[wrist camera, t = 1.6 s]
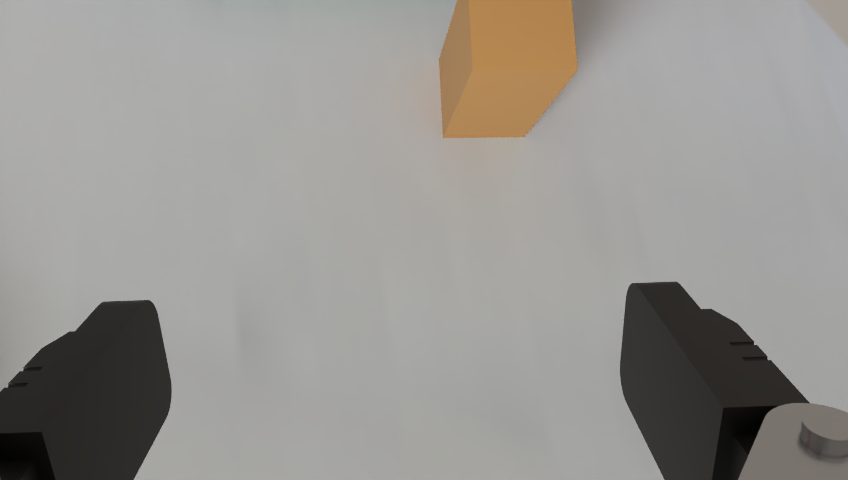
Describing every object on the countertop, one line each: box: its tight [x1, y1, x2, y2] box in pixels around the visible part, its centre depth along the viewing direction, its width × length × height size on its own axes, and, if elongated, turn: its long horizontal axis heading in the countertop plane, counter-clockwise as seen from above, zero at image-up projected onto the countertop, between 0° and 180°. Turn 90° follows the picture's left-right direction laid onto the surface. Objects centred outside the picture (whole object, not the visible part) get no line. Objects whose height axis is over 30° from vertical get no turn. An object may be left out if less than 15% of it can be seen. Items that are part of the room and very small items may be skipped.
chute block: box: [439, 0, 578, 138], centre depth 37 cm, size 5×5×10 cm
